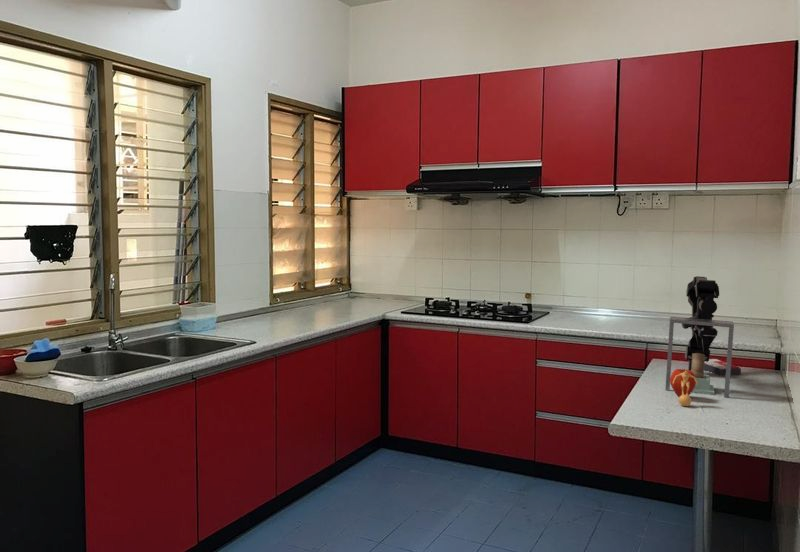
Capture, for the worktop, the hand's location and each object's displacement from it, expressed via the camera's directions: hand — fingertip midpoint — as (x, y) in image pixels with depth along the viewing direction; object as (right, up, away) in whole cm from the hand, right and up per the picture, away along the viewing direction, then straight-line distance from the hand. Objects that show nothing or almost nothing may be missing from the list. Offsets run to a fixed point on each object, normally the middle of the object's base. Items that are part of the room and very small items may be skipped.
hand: (702, 349), depth 256 cm
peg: (-7, -13, -11) cm, 18 cm away
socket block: (-7, -14, -11) cm, 19 cm away
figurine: (-22, -16, -34) cm, 43 cm away
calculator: (+17, -12, +22) cm, 31 cm away
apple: (-19, -15, -24) cm, 34 cm away
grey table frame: (-9, -14, -14) cm, 22 cm away
